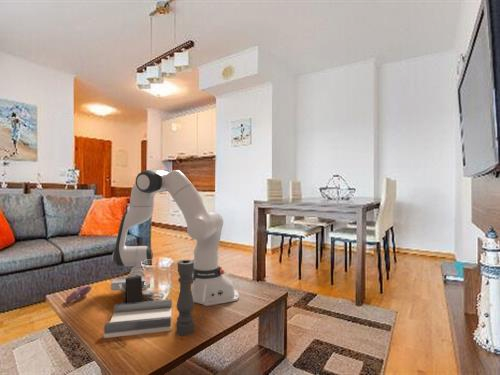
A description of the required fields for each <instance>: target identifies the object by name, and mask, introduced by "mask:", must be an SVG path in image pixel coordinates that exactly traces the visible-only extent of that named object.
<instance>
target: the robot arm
mask: <svg viewBox="0 0 500 375" xmlns="http://www.w3.org/2000/svg"><path fill="white" fill-rule="evenodd" d="M164 192H168V193H169V195H170V196H171V197H172V199H173V200H174V202H175V203H176V205H177V207H178V208H179V210H180V211H181V212H182V215H183V217H184V219H185V223H186V232H187V234H188V236H189V237H190V238H191V239H193V240H195V241H196V244H195V247H194V250H193V260H194V271H193V274H192V278H193V281H192V285H191V292H192V297H193V301H194V304H195V303H196V304H201V305H202V306H205V307H206V306H207V307H209V306H215V305H219V304H226V303H232V302H236V301H238V300H239V298H240V296H239V292H238V290H236V289H235V286H234V284H233V281H231V279H230V278H228V277H227V276H226V275H224V273H225V270H224V269H223V267H221V266H220V265H219V248H220V247H219V246H220V241H221V236H222V235H221V234H222V229H223V226H224V218H223V217H222V216H221V215H220V213H218V212H214V211H209V212H207V209H206V207H205V205H204V203H203V198H202V196H201V194H200V193H199V192H198V190H197V189H196V188H195V186H194V185H193V183H192V182H191V181H190V180H189V178H188V177H187V176H186V175H185V174H184V173H183V172H182V171H181V170H179V169H174V170H171V171H170V170H167V169H145V170H142V171H141V172H139V173H138V174H137V176H136V177H135V184H133V186H132V188H131V192H130V199H129V208H128V211H127V213H126V214H124V215H123V216H122V218H121V220H120V223H119V228H118V233H117V236H116V242H115V246H114V250H113V252H112V256H111V259H112V260H111V262H112V264H113V265H114V266H116V267H117V268H124V267H132V268H131V271H130V272H129V274H128V276H121V277H116V278H114V279H113V280H112V281H111V282H110V290H111V291H119V293H123V292H124V293H125V286H126V278H130V277H136V276H141V278H142V291H148V289H151V288H150V283H147V284H146V285H144V282H145V281H144V279H143V275H144V274H143V270H142V268H141V261H144V260H146V259H152V258H153V259H154V256H153V254H154V252H153V250H152V249H151V247H150V246H148V245H138V246H137V245H134V246H133V245H132V246H130V245H129V246H128V245H126V240H127V236H128V232H129V229H131V228H133V227H136V226H138V225H140V224H144V223H146V222H147V221H149V220H150V219H151V217H153V213H154V208H155V207H154V205H155V204H154V203H155V195H156V194H158V193H159V194H160V193H164Z"/></svg>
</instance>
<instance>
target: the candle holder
mask: <svg viewBox="0 0 500 375" xmlns="http://www.w3.org/2000/svg"><path fill="white" fill-rule="evenodd" d="M193 260H194V259H193ZM193 260H192V259H182V260H178V261H177V273H178V275H179V278H178V282H179V294H178V297H177V303H176V310H177V311H178V314H179V315H178V316H177V318H176V325H175V328H176V330H175V333H176V334H177V335H178V336H181V337H185V336H189V335H192V334H193V333H194V331H195V324H194V323H195V321H194V316H193V314H192V312H193V309H194V307H195V302H194V301H193V297H192V292H191V291H192V283H193V278H192V277H191V276H192V274H193V271H194V261H193Z"/></svg>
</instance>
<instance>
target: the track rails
mask: <svg viewBox="0 0 500 375" xmlns="http://www.w3.org/2000/svg"><path fill="white" fill-rule="evenodd" d="M172 304H173V302H172V298H171V299H159V300H158V299H157V300H147V301H146V300H145V301H143V302H133V303H124V302H122V303H121V302H120V303H115V304H114V305H113V314H114V313H121V312H132V311H143V310H154V309H164V308H172ZM172 309H173V308H172ZM103 326H104V327H103V328H104V330H103V332H104V333H103V335H104V334H105V333H115V332H124V331H133V330H143V329H152V328H161V327H170V326H171V327H172V315H171V316H169V317H159V318H149V319H139V320H129V321H119V322H110V321H109V322H105V323H104V325H103Z"/></svg>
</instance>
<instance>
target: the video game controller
mask: <svg viewBox="0 0 500 375" xmlns="http://www.w3.org/2000/svg"><path fill="white" fill-rule="evenodd" d="M91 290H92V287H91V286H90V285H87V284H85V285H80V286H79V287H78V288H77V289H75V290H74V291H73V292H71V293H70V295H68V296H67V297H66V298H65V302H66V303H72V302H73V301H76V302H78V301H79V300H80V299H83V298H85V297H86V295H88V294H89V293H90V291H91Z"/></svg>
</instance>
